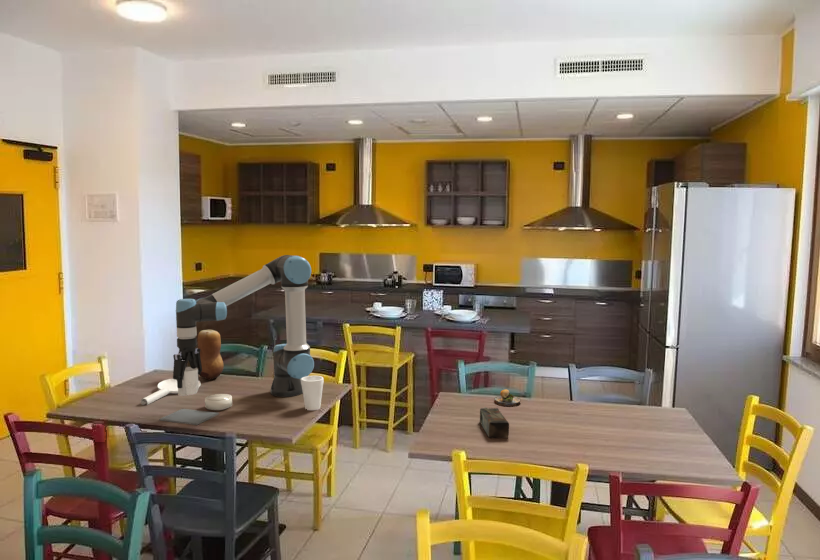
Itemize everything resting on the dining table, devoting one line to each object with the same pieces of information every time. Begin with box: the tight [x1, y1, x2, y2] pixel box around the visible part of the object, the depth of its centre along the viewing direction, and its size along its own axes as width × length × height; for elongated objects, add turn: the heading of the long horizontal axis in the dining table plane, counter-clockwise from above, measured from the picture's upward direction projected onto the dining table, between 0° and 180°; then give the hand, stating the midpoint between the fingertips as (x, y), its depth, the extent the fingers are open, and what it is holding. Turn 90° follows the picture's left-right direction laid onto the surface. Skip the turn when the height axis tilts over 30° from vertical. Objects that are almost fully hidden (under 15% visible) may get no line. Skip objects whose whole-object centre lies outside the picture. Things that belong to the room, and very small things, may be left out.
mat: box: [159, 408, 220, 426], centre depth 242 cm, size 18×14×1 cm
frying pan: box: [140, 377, 201, 406], centre depth 275 cm, size 35×19×5 cm, turn 167°
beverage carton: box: [479, 406, 510, 439], centre depth 228 cm, size 8×19×6 cm, turn 4°
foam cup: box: [301, 375, 325, 411], centre depth 254 cm, size 10×9×13 cm
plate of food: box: [493, 389, 521, 407], centre depth 263 cm, size 12×12×8 cm
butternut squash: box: [197, 329, 225, 381], centre depth 302 cm, size 14×13×25 cm
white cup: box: [183, 366, 199, 396], centre depth 241 cm, size 8×8×10 cm
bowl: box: [204, 393, 233, 411], centre depth 254 cm, size 11×11×5 cm
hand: (188, 392), depth 241 cm, fingers closed on white cup, 8 cm apart
